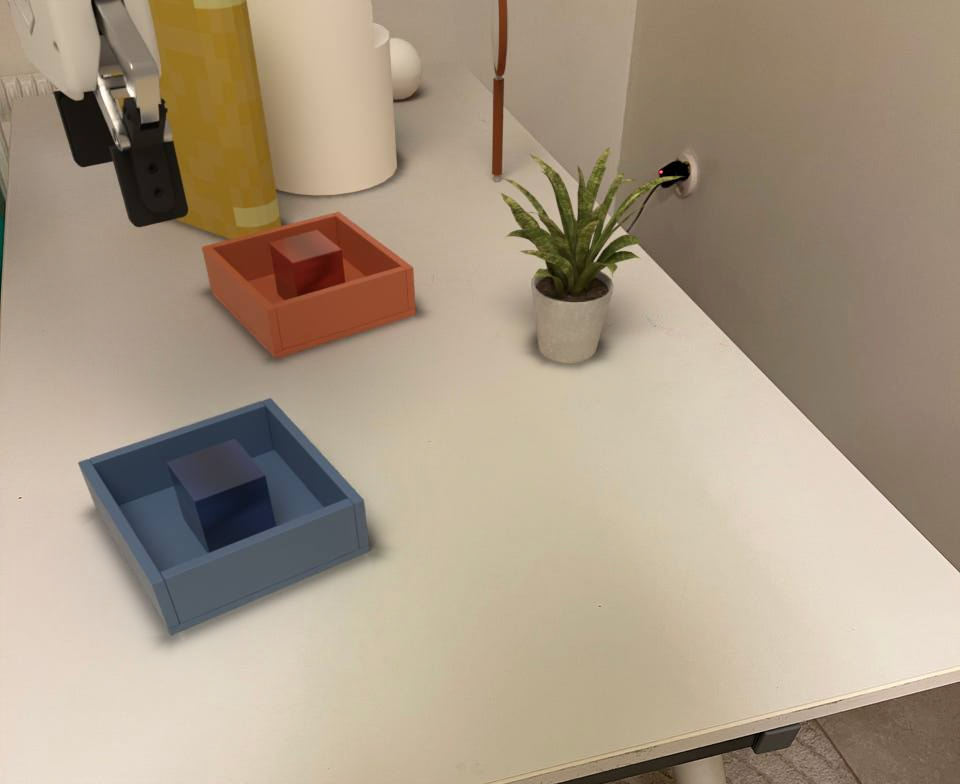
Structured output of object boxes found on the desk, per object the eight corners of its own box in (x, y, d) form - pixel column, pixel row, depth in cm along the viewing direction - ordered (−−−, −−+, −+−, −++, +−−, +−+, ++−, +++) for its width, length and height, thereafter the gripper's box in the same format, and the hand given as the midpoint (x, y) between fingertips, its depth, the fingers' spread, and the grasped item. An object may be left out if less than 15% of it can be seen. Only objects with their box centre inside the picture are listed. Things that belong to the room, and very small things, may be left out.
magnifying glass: (506, 197, 105) (512, -11, 90) (492, 197, 105) (495, -10, 90) (501, 168, 111) (505, -31, 96) (487, 168, 110) (489, -31, 96)
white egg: (423, 90, 130) (421, 30, 125) (422, 107, 125) (420, 46, 120) (354, 90, 130) (349, 30, 124) (350, 108, 125) (345, 46, 119)
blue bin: (171, 638, 58) (151, 584, 54) (98, 515, 66) (77, 461, 62) (370, 553, 63) (364, 499, 60) (280, 449, 71) (270, 397, 68)
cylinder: (339, 208, 102) (305, -109, 82) (225, 176, 108) (166, -127, 88) (424, 160, 112) (413, -134, 92) (315, 133, 118) (282, -148, 98)
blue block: (211, 558, 62) (194, 501, 58) (183, 519, 64) (166, 462, 61) (277, 532, 64) (265, 474, 60) (248, 494, 66) (235, 437, 63)
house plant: (628, 301, 88) (652, 117, 76) (678, 376, 79) (715, 180, 67) (486, 316, 86) (487, 129, 74) (521, 394, 77) (529, 196, 65)
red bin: (276, 360, 80) (266, 310, 77) (212, 295, 88) (201, 246, 85) (416, 316, 86) (413, 267, 82) (343, 258, 94) (338, 211, 90)
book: (143, 212, 101) (70, -66, 83) (188, 192, 105) (127, -78, 87) (252, 251, 95) (199, -41, 76) (296, 229, 99) (255, -55, 80)
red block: (300, 315, 84) (292, 262, 81) (277, 293, 87) (268, 242, 83) (347, 301, 86) (342, 249, 82) (323, 280, 89) (317, 229, 85)
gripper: (-108, -231, 43) (23, 154, 56) (-17, -189, 33) (115, 263, 46) (52, -236, 46) (141, 131, 58) (177, -199, 36) (251, 230, 49)
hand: (130, 189), depth 52 cm, fingers open, 9 cm apart
